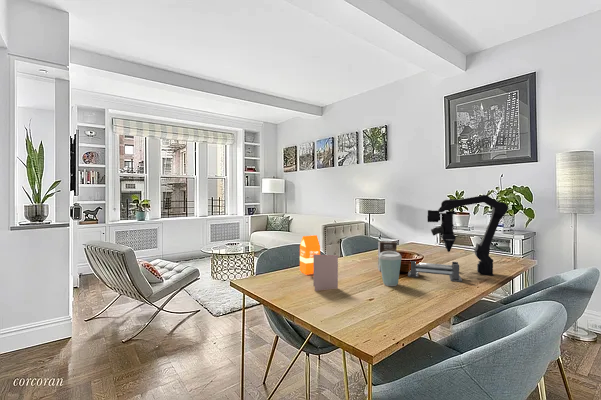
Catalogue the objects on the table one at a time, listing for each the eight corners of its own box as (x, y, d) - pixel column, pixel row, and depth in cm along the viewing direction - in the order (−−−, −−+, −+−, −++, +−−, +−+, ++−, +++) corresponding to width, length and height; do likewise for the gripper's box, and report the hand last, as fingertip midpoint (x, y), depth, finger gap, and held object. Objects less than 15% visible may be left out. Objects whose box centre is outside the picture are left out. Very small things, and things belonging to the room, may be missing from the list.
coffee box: (379, 271, 168) (379, 242, 168) (377, 268, 174) (377, 240, 174) (396, 272, 167) (396, 242, 167) (394, 269, 174) (394, 241, 173)
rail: (456, 272, 166) (456, 269, 168) (457, 267, 165) (456, 264, 168) (410, 268, 175) (410, 265, 177) (410, 263, 174) (410, 260, 177)
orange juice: (299, 271, 169) (299, 235, 169) (313, 269, 173) (313, 234, 172) (305, 274, 162) (305, 237, 162) (320, 272, 166) (320, 236, 165)
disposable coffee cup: (403, 288, 139) (403, 255, 139) (378, 287, 141) (378, 254, 141) (400, 281, 149) (400, 251, 149) (377, 280, 152) (377, 250, 151)
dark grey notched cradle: (460, 277, 157) (460, 261, 157) (462, 282, 149) (462, 265, 148) (408, 272, 166) (408, 257, 166) (407, 276, 158) (408, 261, 158)
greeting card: (338, 287, 141) (338, 255, 140) (335, 292, 133) (335, 258, 133) (313, 285, 144) (313, 253, 143) (310, 290, 136) (310, 257, 136)
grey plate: (456, 270, 170) (456, 269, 170) (458, 275, 160) (458, 274, 160) (410, 266, 179) (410, 265, 179) (409, 271, 169) (409, 270, 169)
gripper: (430, 220, 182) (431, 246, 182) (432, 223, 164) (433, 252, 164) (451, 220, 178) (451, 247, 178) (455, 224, 160) (456, 253, 160)
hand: (447, 250), depth 170 cm, fingers open, 9 cm apart
